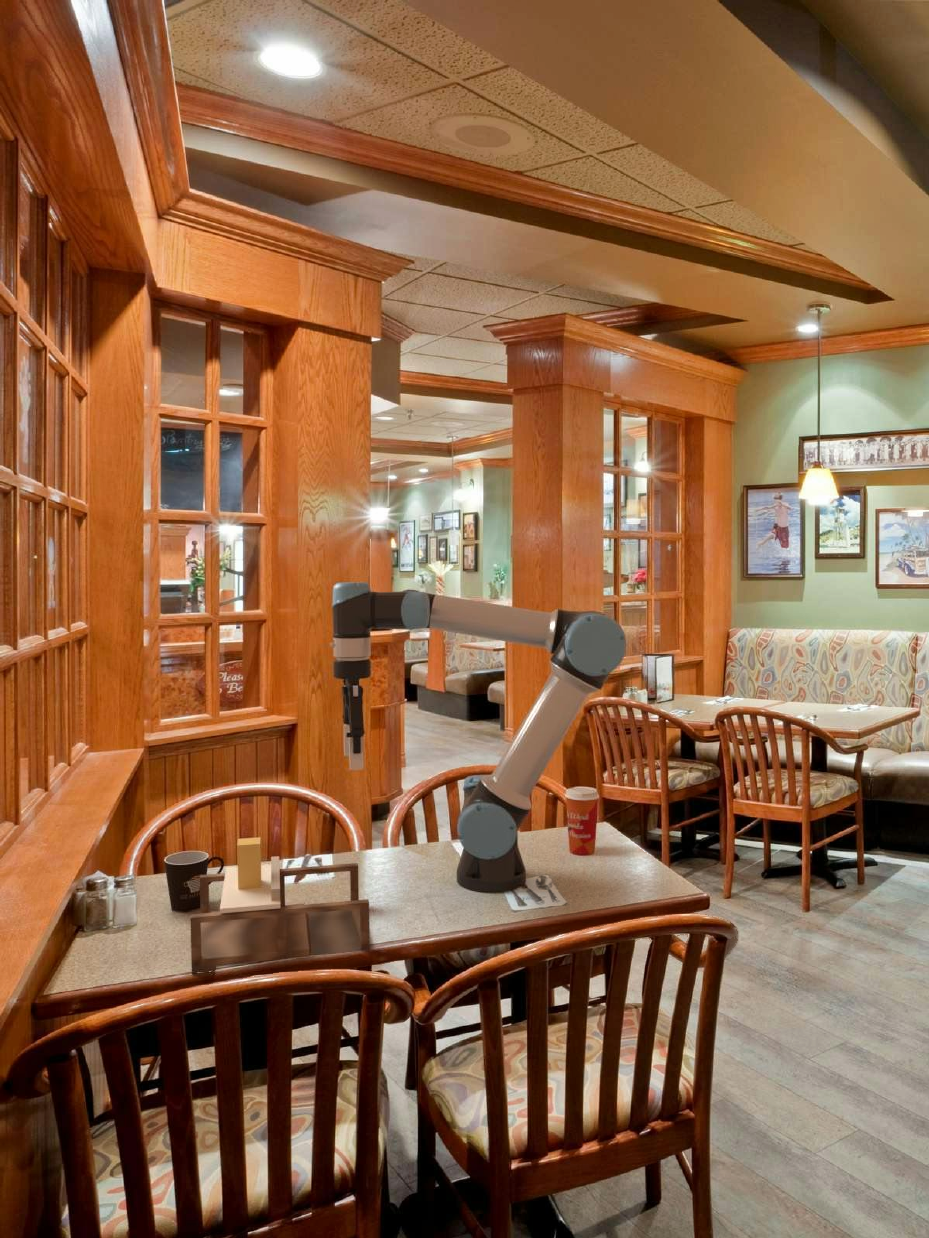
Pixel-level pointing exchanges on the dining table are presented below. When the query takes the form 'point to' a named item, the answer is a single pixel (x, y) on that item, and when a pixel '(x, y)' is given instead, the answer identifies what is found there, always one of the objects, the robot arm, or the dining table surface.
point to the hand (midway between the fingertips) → (353, 762)
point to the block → (249, 863)
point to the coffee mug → (186, 878)
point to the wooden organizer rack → (279, 926)
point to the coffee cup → (582, 819)
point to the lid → (252, 890)
